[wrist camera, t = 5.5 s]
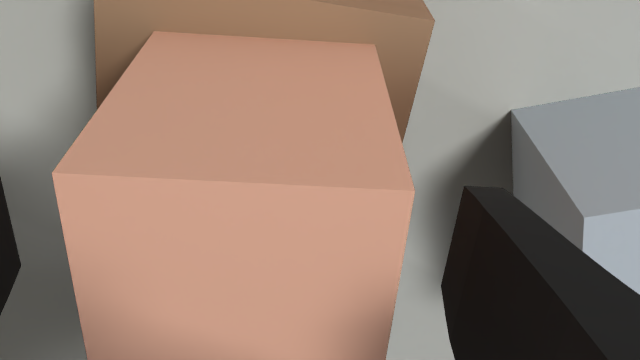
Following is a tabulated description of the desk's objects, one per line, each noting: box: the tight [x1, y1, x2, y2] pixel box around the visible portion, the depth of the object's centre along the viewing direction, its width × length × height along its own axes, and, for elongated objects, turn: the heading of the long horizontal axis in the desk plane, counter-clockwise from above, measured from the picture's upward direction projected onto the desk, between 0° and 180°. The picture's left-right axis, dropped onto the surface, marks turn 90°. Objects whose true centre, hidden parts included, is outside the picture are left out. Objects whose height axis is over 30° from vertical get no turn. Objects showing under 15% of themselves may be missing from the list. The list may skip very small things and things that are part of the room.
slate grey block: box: [511, 87, 640, 294], centre depth 15 cm, size 4×4×5 cm
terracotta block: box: [52, 31, 415, 360], centre depth 10 cm, size 4×4×5 cm
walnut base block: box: [94, 0, 435, 142], centre depth 14 cm, size 6×6×4 cm
